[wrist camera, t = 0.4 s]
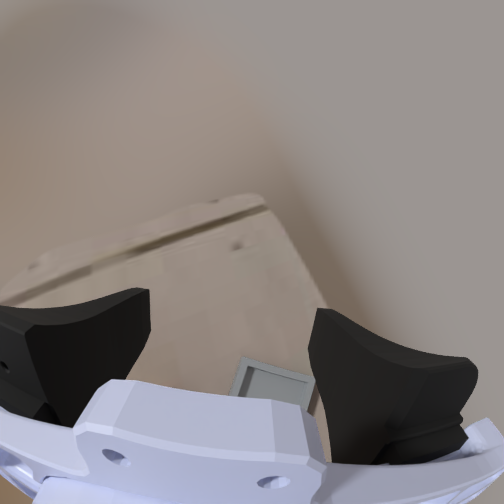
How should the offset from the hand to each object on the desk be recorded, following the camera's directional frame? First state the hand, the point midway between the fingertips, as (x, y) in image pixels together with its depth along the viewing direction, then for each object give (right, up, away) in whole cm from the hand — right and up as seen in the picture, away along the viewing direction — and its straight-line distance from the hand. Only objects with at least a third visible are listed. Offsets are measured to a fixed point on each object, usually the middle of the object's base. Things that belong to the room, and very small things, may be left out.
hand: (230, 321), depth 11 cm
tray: (+3, -18, +23) cm, 30 cm away
